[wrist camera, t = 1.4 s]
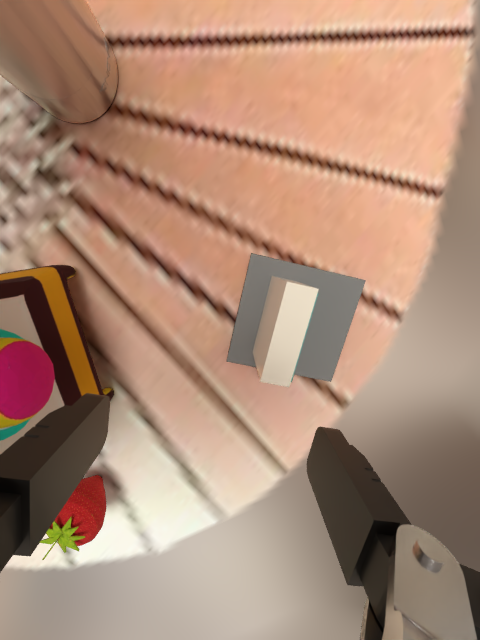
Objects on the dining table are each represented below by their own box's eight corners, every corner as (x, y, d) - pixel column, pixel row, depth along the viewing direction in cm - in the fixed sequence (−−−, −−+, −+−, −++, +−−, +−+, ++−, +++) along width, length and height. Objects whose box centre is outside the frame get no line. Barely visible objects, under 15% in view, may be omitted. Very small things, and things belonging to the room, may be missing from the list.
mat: (226, 360, 32) (226, 361, 32) (251, 253, 29) (251, 253, 29) (329, 380, 34) (331, 381, 33) (364, 280, 31) (365, 280, 30)
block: (252, 351, 32) (260, 381, 24) (271, 275, 30) (287, 281, 22) (276, 356, 32) (291, 387, 24) (297, 281, 30) (321, 289, 22)
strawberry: (96, 503, 37) (49, 589, 27) (66, 467, 35) (4, 545, 26) (130, 488, 37) (94, 570, 27) (101, 450, 35) (52, 524, 25)
